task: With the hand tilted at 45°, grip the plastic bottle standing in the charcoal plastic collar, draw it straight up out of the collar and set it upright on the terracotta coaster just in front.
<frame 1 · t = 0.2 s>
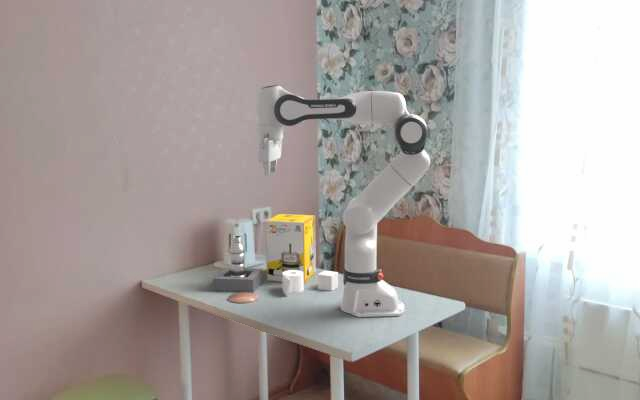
hand: (270, 173, 198), 47 cm above the table, tool pointing down, fingers open, 8 cm apart
terracotta coaster: (243, 298, 212), on the table
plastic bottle: (238, 286, 228), resting in charcoal collar
white cube: (328, 288, 224), on the table
charcoal collar: (238, 285, 228), on the table
packaging box: (291, 276, 240), on the table
toilet paper: (290, 292, 220), on the table
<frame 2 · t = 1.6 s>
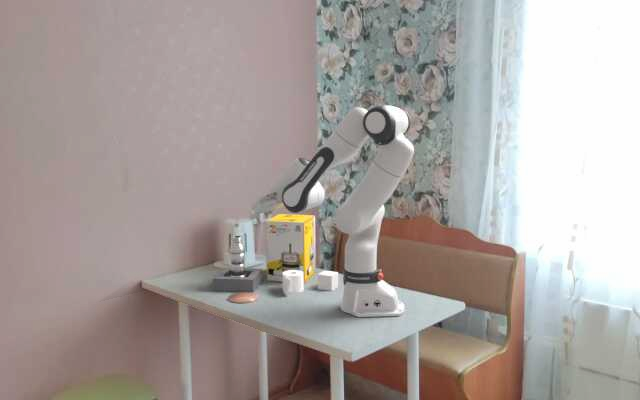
hand: (260, 215, 217), 30 cm above the table, tool tilted 45°, fingers open, 8 cm apart
nothing on the table moved.
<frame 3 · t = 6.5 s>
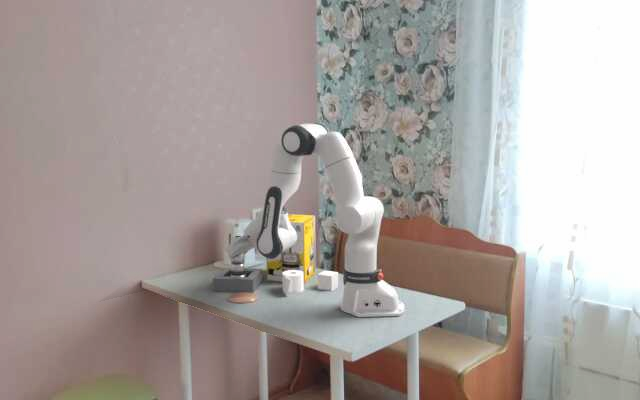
hand: (236, 255, 226), 12 cm above the table, tool tilted 45°, fingers closed on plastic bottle, 6 cm apart
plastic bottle: (238, 286, 228), resting in charcoal collar, touching gripper
everything else where it was.
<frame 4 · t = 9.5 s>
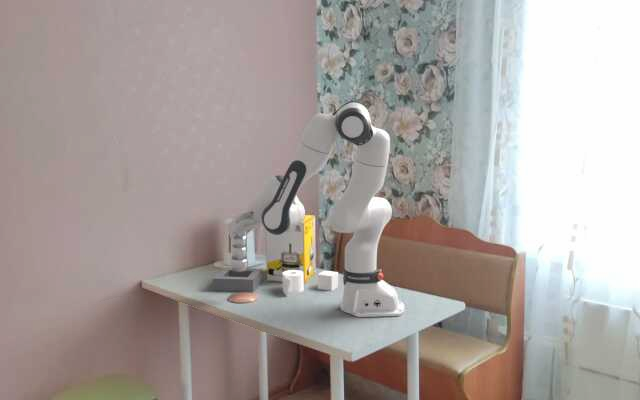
hand: (237, 235, 208), 24 cm above the table, tool tilted 45°, fingers closed on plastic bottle, 6 cm apart
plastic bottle: (239, 271, 210), point 10 cm above the table, touching gripper
everything else where it was.
when the fingers open (14 cm above the table, at t = 12.6 s): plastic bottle stays where it is, resting on terracotta coaster.
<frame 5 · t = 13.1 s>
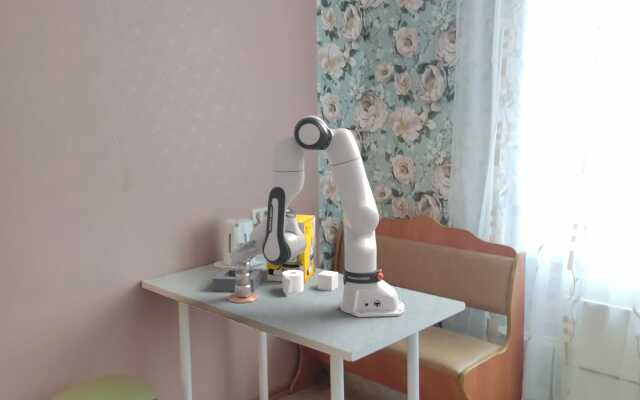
hand: (240, 261, 210), 14 cm above the table, tool tilted 45°, fingers open, 8 cm apart
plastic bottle: (243, 296, 213), resting on terracotta coaster
everything else where it was.
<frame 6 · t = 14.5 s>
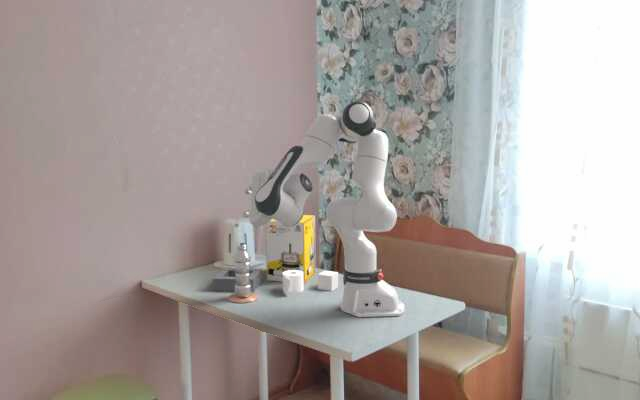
hand: (245, 203, 210), 35 cm above the table, tool tilted 70°, fingers open, 8 cm apart
nothing on the table moved.
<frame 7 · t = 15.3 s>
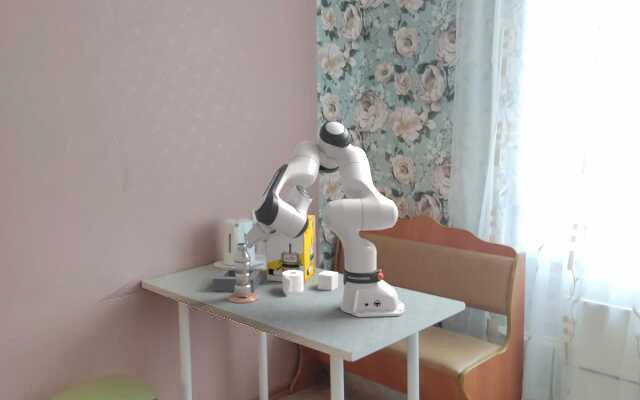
hand: (256, 243, 207), 21 cm above the table, tool tilted 45°, fingers open, 8 cm apart
nothing on the table moved.
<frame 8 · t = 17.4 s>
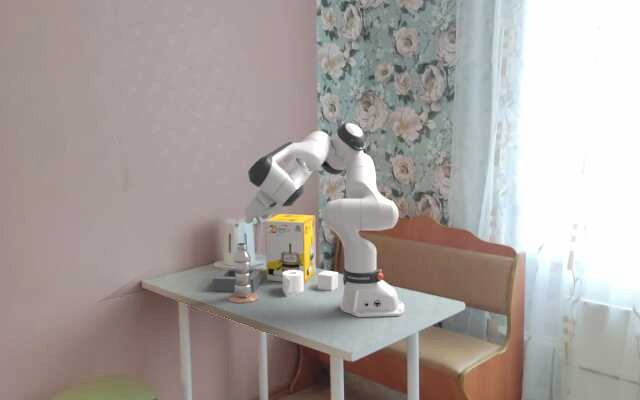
hand: (255, 219, 205), 30 cm above the table, tool tilted 45°, fingers open, 8 cm apart
nothing on the table moved.
at the end: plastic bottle inside the target area (0.7 cm from its centre), resting on terracotta coaster; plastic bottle tilted 0°; the gripper is holding nothing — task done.
